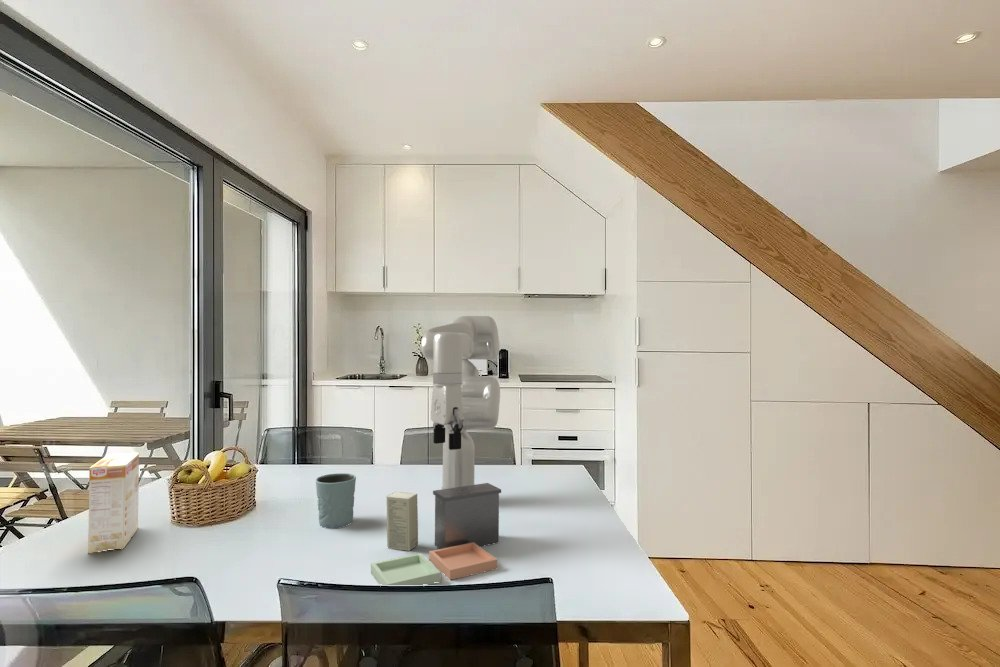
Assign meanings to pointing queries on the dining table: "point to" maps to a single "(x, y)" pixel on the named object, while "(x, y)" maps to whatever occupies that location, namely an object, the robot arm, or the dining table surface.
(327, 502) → the grey-green cup
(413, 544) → the skincare box
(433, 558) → the terracotta tray
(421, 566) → the sage tray
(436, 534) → the charcoal unit
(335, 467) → the dining table surface
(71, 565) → the dining table surface
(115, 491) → the coffeecake box
